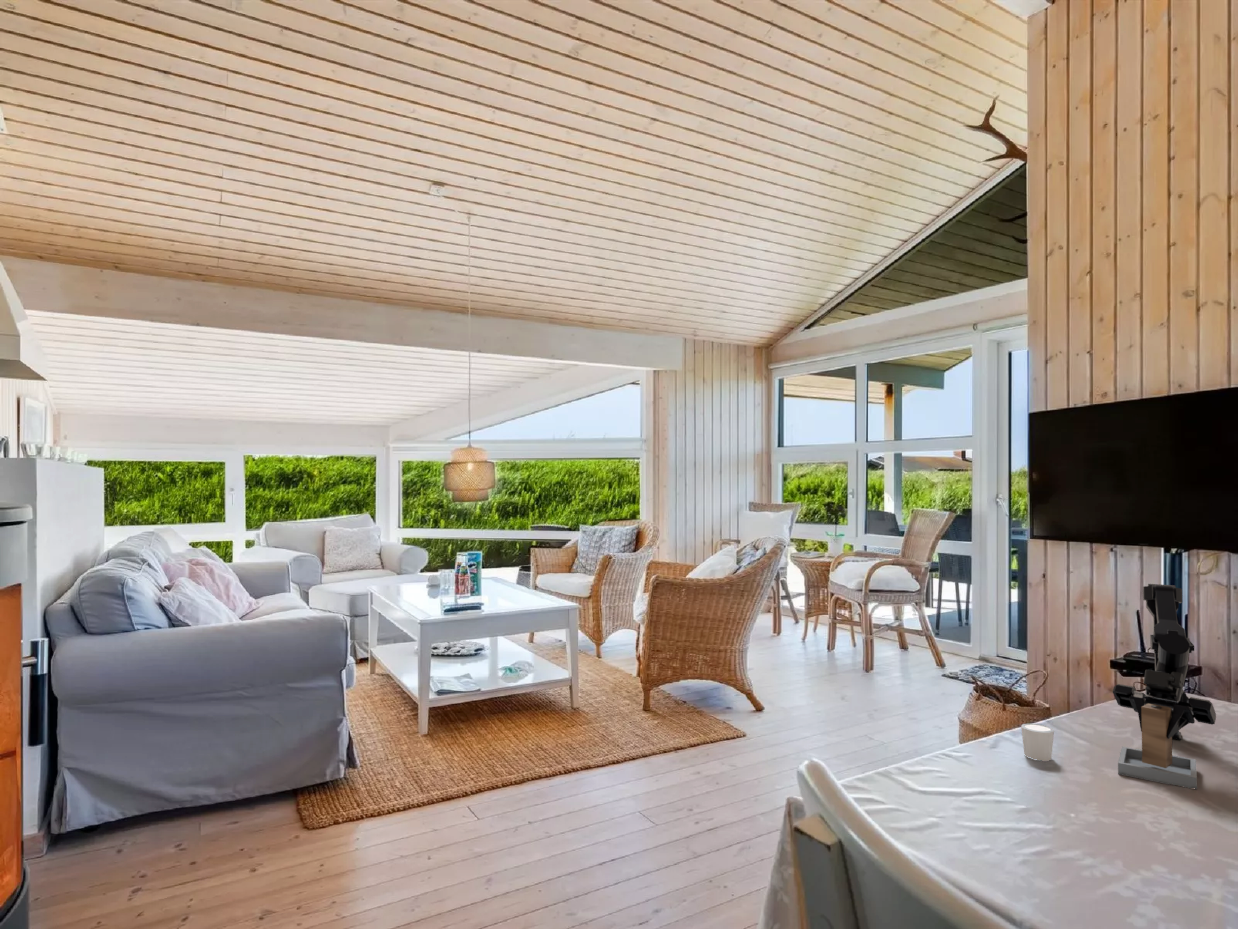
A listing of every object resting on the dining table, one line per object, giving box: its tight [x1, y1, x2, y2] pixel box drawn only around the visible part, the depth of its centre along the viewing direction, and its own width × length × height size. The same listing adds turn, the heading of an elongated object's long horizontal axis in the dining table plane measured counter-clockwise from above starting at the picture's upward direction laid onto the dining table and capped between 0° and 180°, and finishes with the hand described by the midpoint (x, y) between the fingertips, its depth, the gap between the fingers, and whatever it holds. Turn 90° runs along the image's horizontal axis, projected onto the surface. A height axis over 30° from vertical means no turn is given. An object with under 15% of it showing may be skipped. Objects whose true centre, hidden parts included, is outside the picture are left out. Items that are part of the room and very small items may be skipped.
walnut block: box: [1141, 703, 1173, 768], centre depth 169 cm, size 4×4×13 cm
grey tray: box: [1117, 745, 1198, 790], centre depth 168 cm, size 14×14×2 cm
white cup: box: [1020, 723, 1055, 762], centre depth 178 cm, size 7×7×7 cm
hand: (1154, 734), depth 168 cm, fingers closed on walnut block, 4 cm apart
